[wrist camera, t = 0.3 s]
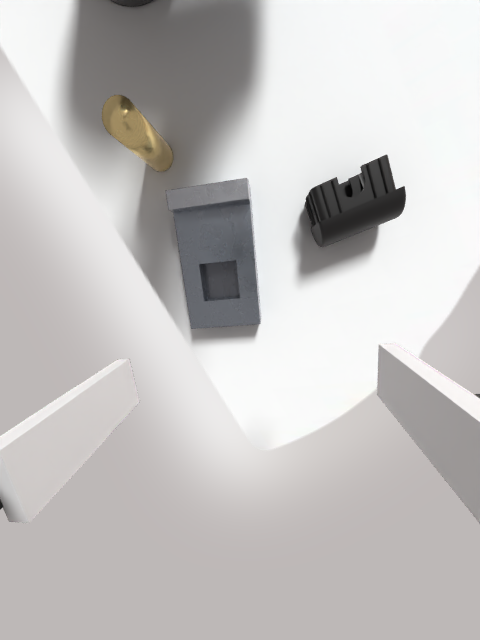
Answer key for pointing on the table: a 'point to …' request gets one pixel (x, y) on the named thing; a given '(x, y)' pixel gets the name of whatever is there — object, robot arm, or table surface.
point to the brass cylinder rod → (136, 132)
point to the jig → (217, 253)
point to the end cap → (354, 203)
